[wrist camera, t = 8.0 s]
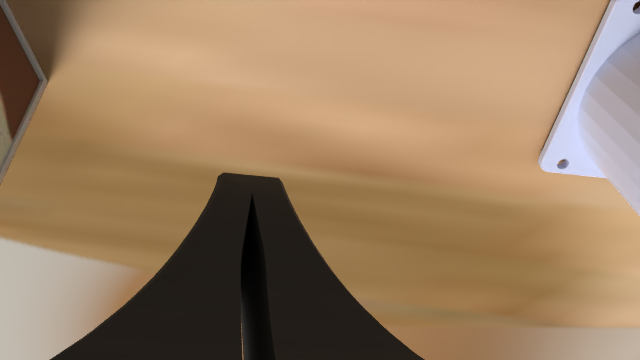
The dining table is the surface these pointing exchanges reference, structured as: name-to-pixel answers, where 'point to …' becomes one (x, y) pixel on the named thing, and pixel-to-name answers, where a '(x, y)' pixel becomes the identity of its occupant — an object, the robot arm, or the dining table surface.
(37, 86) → the food container
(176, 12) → the dining table surface
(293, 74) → the dining table surface
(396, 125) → the dining table surface
